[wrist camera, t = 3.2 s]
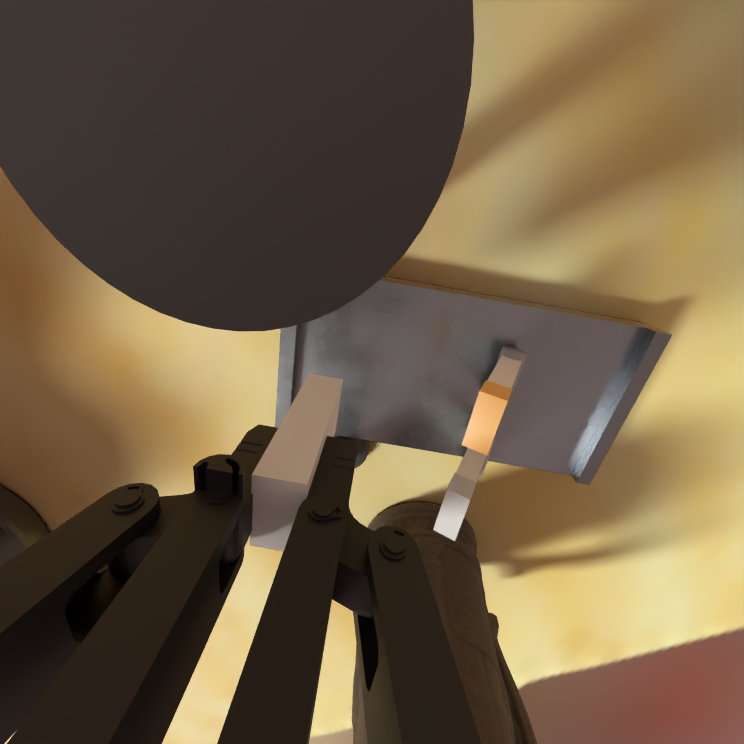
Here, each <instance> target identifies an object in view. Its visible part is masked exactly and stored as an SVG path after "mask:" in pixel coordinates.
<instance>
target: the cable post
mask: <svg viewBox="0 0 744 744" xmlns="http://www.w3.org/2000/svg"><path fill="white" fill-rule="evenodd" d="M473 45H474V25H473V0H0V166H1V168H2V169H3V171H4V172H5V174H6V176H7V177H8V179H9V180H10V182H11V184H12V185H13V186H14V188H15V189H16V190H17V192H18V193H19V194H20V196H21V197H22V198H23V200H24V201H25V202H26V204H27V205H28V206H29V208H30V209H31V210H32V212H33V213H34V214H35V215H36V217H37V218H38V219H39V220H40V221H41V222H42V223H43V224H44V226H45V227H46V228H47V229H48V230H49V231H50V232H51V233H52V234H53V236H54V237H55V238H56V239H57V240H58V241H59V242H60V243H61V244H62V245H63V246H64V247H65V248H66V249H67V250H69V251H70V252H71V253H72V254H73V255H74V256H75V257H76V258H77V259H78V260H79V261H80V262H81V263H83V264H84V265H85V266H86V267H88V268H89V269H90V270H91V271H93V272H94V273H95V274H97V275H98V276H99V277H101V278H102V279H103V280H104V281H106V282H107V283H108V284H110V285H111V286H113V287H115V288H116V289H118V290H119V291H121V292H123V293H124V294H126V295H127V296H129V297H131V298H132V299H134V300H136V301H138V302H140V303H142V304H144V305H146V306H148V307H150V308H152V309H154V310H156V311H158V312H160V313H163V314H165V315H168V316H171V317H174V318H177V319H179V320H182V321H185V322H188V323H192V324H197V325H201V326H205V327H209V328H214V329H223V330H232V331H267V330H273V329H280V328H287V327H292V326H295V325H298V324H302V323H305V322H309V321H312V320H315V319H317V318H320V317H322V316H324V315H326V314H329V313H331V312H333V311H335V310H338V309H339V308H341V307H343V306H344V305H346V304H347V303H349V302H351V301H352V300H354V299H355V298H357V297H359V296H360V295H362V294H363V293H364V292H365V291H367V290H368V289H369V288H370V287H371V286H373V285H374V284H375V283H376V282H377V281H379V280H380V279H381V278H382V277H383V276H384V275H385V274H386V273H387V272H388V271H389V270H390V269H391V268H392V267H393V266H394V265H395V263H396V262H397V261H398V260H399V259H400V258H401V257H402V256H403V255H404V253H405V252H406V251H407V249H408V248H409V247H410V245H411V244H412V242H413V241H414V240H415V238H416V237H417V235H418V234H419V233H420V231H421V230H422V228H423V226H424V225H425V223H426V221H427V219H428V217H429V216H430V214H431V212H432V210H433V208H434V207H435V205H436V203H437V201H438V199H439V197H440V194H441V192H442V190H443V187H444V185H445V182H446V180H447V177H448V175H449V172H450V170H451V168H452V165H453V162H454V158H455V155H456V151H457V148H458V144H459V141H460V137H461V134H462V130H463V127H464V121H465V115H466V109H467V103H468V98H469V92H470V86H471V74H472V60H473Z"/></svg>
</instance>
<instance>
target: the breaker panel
mask: <svg viewBox="0 0 744 744" xmlns="http://www.w3.org/2000/svg"><path fill="white" fill-rule="evenodd" d="M671 336H672V335H671V334H669V333H666V332H664V331H662V330H659V329H657V328H654V327H652V326H650V325H647V324H645V323H642V322H637V321H631V320H626V319H620V318H615V317H609V316H604V315H598V314H592V313H587V312H581V311H576V310H570V309H564V308H559V307H553V306H548V305H542V304H537V303H531V302H525V301H520V300H514V299H509V298H503V297H497V296H492V295H486V294H481V293H475V292H470V291H464V290H458V289H453V288H447V287H442V286H436V285H430V284H425V283H419V282H414V281H408V280H403V279H397V278H391V277H386V276H383V277H382V278H381V279H380V280H379V281H377V282H376V283H375V284H374V285H373V286H371V287H370V288H369V289H368V290H367V291H365V292H364V293H363V294H362V295H360V296H359V297H357V298H355V299H354V300H352V301H351V302H349V303H347V304H346V305H344V306H343V307H341V308H339V309H338V310H335V311H333V312H331V313H329V314H326V315H324V316H322V317H320V318H317V319H315V320H312V321H309V322H305V323H302V324H298V325H295V326H292V327H287V328H281V334H280V352H279V369H278V387H277V404H276V421H275V428H279V426H280V424H281V422H282V421H283V419H284V417H285V415H286V414H287V412H288V410H289V408H290V407H291V405H292V403H293V401H294V400H295V398H296V396H297V394H298V392H299V391H300V389H301V387H302V385H303V384H304V382H305V380H306V378H307V377H308V375H309V373H311V374H316V375H322V376H327V377H333V378H339V379H343V382H342V389H341V396H340V403H339V410H338V417H337V424H336V431H335V434H334V435H340V436H346V437H352V438H357V439H363V440H369V441H375V442H381V443H387V444H392V445H398V446H404V447H410V448H416V449H422V450H427V451H433V452H439V453H445V454H451V455H457V456H463V457H464V455H465V453H466V451H467V447H465V446H463V445H462V442H463V439H464V436H465V433H466V430H467V427H468V424H469V421H470V418H471V415H472V412H473V409H474V406H475V403H476V400H477V397H478V394H479V391H480V389H481V388H482V386H483V384H484V383H485V381H486V380H488V378H489V377H490V375H491V373H492V372H493V370H494V368H495V366H496V364H497V361H498V358H499V355H500V352H501V349H502V347H513V348H517V349H520V350H522V351H524V352H526V353H527V354H528V356H527V359H526V361H525V364H524V367H523V369H522V372H521V374H520V377H519V380H518V382H517V385H516V388H515V390H514V393H513V395H512V398H511V401H510V403H509V405H508V406H506V407H505V410H504V412H503V415H502V418H501V420H500V423H499V426H498V428H497V432H498V435H497V438H496V440H495V443H494V445H493V448H492V451H491V453H490V456H489V459H488V461H492V462H498V463H503V464H509V465H515V466H521V467H527V468H533V469H538V470H544V471H550V472H556V473H562V474H568V475H572V477H573V478H574V479H575V481H576V482H577V483H583V484H590V483H591V481H592V479H593V477H594V475H595V474H596V472H597V470H598V468H599V466H600V465H601V463H602V461H603V459H604V457H605V455H606V454H607V452H608V450H609V448H610V446H611V445H612V443H613V441H614V439H615V437H616V436H617V434H618V432H619V430H620V428H621V427H622V425H623V423H624V421H625V419H626V418H627V416H628V414H629V412H630V410H631V408H632V407H633V405H634V403H635V401H636V399H637V398H638V396H639V394H640V392H641V390H642V389H643V387H644V385H645V383H646V381H647V380H648V378H649V376H650V374H651V372H652V371H653V369H654V367H655V365H656V363H657V361H658V360H659V358H660V356H661V354H662V352H663V351H664V349H665V347H666V345H667V343H668V342H669V340H670V338H671Z"/></svg>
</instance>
